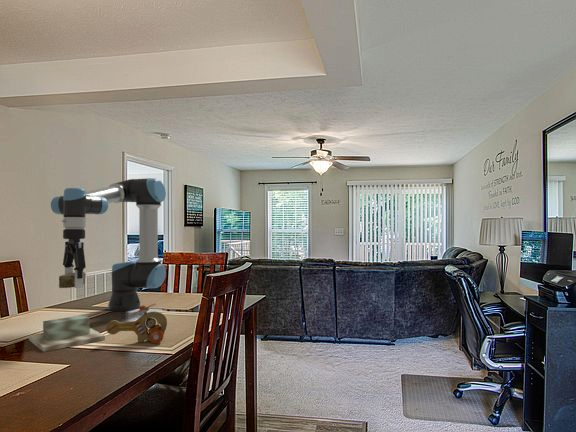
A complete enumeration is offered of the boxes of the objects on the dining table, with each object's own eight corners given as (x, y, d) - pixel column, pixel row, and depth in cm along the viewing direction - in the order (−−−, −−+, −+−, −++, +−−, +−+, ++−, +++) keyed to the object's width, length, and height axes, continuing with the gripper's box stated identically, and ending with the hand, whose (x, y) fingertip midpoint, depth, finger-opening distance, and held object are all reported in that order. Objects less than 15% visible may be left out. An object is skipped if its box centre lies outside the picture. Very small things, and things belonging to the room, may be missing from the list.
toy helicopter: (166, 343, 147) (166, 304, 147) (103, 347, 142) (103, 307, 143) (167, 337, 155) (167, 300, 155) (108, 340, 150) (108, 303, 151)
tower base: (86, 329, 166) (86, 310, 166) (104, 339, 152) (104, 319, 152) (28, 339, 152) (28, 319, 152) (43, 351, 138) (43, 329, 138)
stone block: (86, 284, 163) (86, 271, 163) (74, 288, 151) (74, 275, 151) (71, 284, 162) (71, 271, 162) (57, 289, 151) (57, 275, 151)
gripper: (54, 228, 164) (53, 283, 163) (73, 228, 146) (72, 290, 146) (74, 228, 169) (74, 281, 168) (95, 228, 152) (95, 288, 151)
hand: (73, 285), depth 157 cm, fingers closed on stone block, 12 cm apart
